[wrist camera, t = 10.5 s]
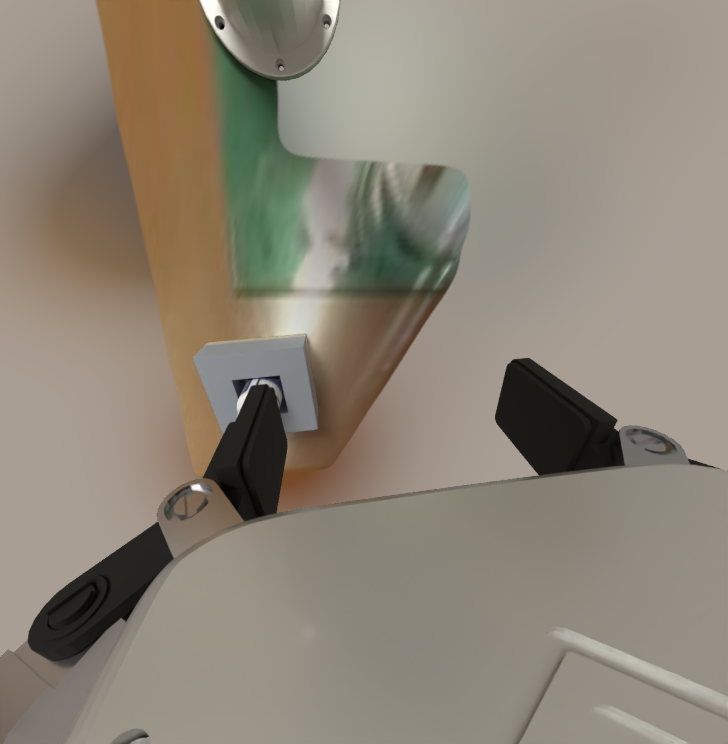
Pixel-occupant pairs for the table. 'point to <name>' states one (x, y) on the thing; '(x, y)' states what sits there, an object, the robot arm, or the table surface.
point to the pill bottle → (271, 381)
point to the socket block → (260, 359)
